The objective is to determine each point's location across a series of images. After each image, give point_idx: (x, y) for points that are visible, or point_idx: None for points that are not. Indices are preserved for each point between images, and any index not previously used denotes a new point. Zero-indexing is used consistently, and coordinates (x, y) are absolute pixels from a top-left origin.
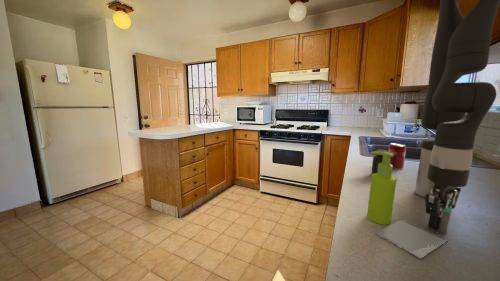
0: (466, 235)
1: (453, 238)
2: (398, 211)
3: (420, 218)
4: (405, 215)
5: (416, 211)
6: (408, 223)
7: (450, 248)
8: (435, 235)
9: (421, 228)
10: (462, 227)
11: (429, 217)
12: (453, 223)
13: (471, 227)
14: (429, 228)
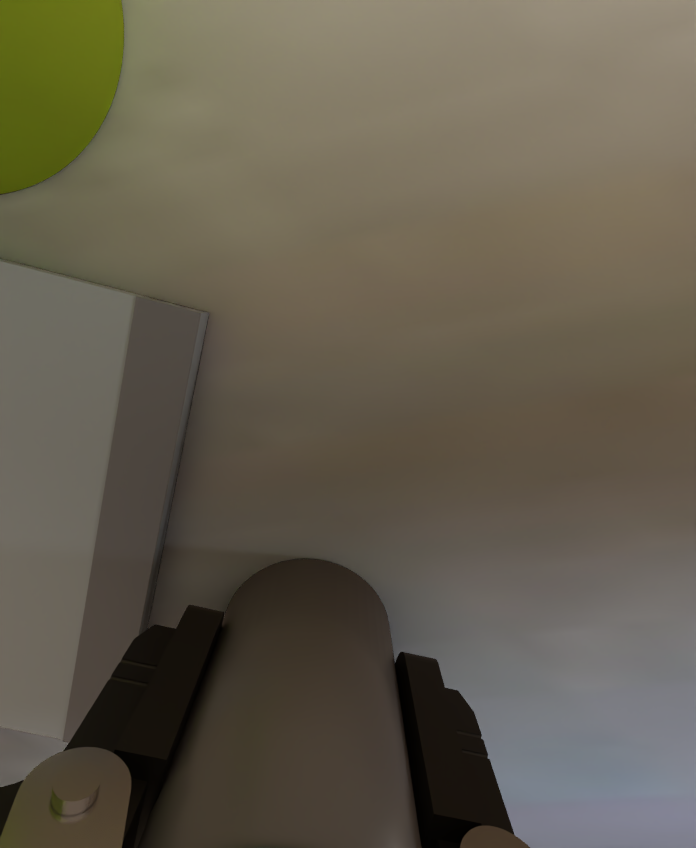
0: None
1: None
2: (492, 188)
3: (481, 463)
4: (425, 299)
5: (683, 386)
6: (119, 396)
7: (12, 754)
8: (84, 662)
9: (124, 535)
10: (578, 793)
11: (275, 644)
12: (618, 730)
13: (643, 845)
14: (244, 586)
